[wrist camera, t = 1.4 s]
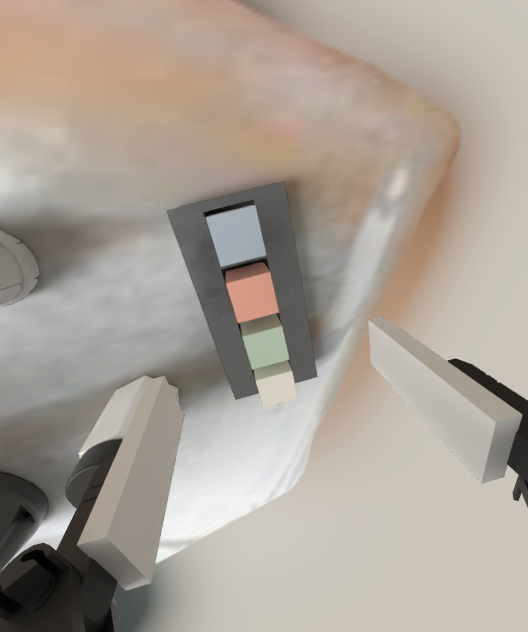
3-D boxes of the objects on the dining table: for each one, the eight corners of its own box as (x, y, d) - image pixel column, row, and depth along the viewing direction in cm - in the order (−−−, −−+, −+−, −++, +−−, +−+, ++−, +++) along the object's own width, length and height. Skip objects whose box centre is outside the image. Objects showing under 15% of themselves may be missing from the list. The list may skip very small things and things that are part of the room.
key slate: (221, 256, 25) (220, 267, 21) (209, 215, 24) (205, 217, 20) (259, 247, 25) (266, 255, 21) (250, 205, 24) (255, 205, 20)
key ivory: (259, 382, 32) (263, 408, 28) (251, 357, 31) (255, 380, 27) (288, 374, 32) (298, 398, 28) (283, 348, 31) (291, 370, 27)
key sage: (248, 347, 30) (252, 369, 26) (239, 317, 28) (242, 337, 24) (280, 338, 30) (289, 359, 26) (273, 308, 28) (282, 326, 24)
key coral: (236, 305, 28) (237, 323, 24) (225, 271, 26) (225, 283, 22) (271, 296, 28) (279, 312, 24) (263, 261, 26) (270, 271, 22)
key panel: (234, 384, 35) (235, 399, 32) (172, 210, 25) (166, 210, 22) (310, 363, 35) (317, 376, 33) (278, 183, 26) (284, 181, 23)
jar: (183, 423, 37) (165, 516, 26) (123, 427, 35) (77, 526, 24) (178, 373, 33) (155, 456, 22) (111, 375, 32) (52, 464, 21)
